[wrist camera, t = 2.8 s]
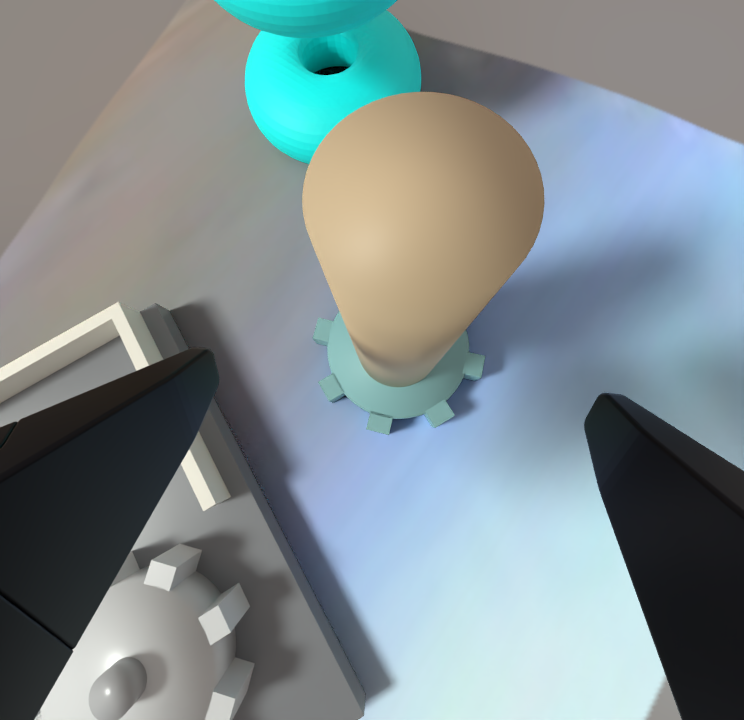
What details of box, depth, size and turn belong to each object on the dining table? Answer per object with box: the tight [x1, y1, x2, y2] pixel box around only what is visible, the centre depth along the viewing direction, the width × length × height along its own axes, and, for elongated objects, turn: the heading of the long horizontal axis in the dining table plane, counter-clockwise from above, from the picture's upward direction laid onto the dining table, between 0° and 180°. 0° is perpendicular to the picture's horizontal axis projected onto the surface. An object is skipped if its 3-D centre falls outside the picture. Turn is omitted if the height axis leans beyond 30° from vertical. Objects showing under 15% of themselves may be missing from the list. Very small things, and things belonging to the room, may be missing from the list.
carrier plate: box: [0, 302, 366, 720], centre depth 15 cm, size 21×13×4 cm, turn 31°
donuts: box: [214, 0, 421, 164], centre depth 17 cm, size 10×10×10 cm
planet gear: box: [302, 92, 544, 435], centre depth 12 cm, size 8×8×13 cm
